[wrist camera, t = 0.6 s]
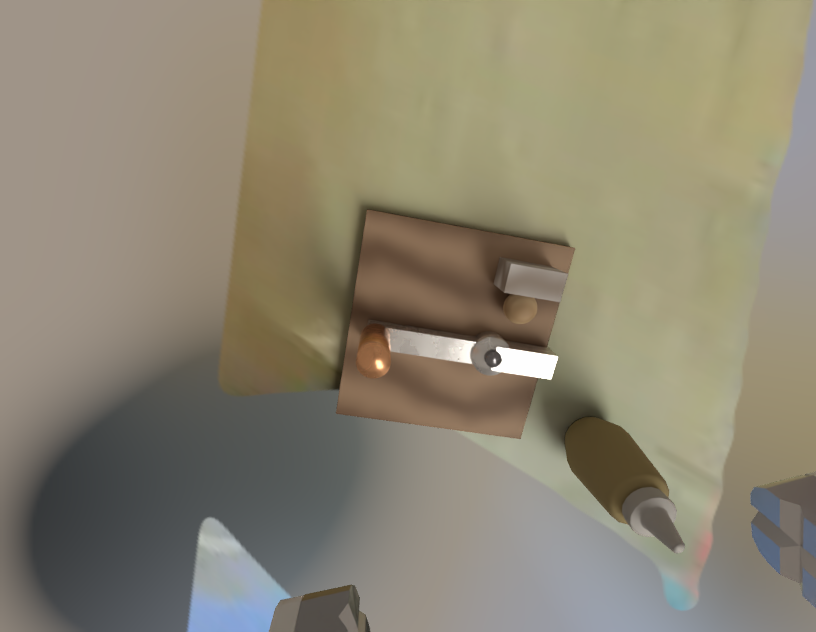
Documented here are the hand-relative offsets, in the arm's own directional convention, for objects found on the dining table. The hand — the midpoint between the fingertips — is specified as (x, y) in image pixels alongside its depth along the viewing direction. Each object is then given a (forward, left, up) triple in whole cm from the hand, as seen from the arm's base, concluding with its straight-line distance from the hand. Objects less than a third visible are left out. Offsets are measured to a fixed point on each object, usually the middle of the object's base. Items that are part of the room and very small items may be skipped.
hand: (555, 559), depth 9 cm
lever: (+9, +6, -39) cm, 40 cm away
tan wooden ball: (+3, +12, -39) cm, 41 cm away
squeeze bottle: (+19, +26, -41) cm, 52 cm away
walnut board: (+8, +5, -40) cm, 41 cm away
